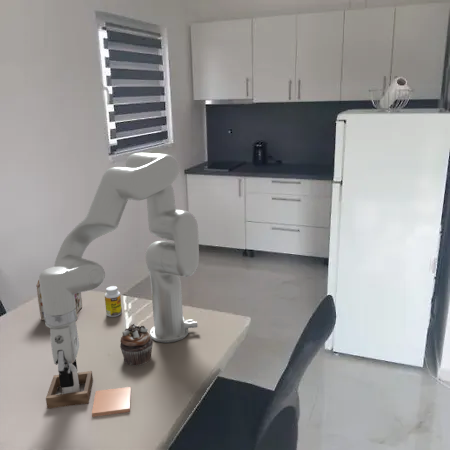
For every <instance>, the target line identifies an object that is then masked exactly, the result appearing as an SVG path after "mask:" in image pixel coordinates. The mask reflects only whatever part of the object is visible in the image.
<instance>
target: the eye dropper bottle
mask: <svg viewBox="0 0 450 450" xmlns="http://www.w3.org/2000/svg"><path fill="white" fill-rule="evenodd" d="M64 361H67V360H66V359H64ZM70 365H71V371H72V373H73V381H74V386H72V387H65V388H61V394H66V393H74V392H81V390H80V389H81V388H80V384H79V380H78V373H79V372H78V368H77V369H76V367H75V366H74V365H73V364H72V363H70ZM64 366H65V367H67V364H64ZM67 368H68V367H67Z"/></svg>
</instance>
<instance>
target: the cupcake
mask: <svg viewBox="0 0 450 450" xmlns="http://www.w3.org/2000/svg"><path fill="white" fill-rule="evenodd" d="M148 331H149V328H148V327H145V325H141V326H138V325H137V324H135V323H133V324H131V325H129V327H128V328H125V329H124V330H122V335H121V337H120V346H119V347H120V350H121V351H120V352H121V353H122V357H123V360H124V362H125V364H127V365H129V366H142V365H145V364H147V363H148V362H149V361H150V360H151V359H152V353H153V352H152V350H153V345H154V340H153V339H152V338H151V337H150V332H148Z"/></svg>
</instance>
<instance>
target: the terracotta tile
mask: <svg viewBox="0 0 450 450" xmlns="http://www.w3.org/2000/svg"><path fill="white" fill-rule="evenodd" d="M131 398H132V386H125V387H118V388H117V387H116V388H109V389H100V390H95V393H94V399H93V403H92V404H93V405H92V409H91V417H92V418H94V417H103V416H110V415H116V414H124V413H130V412H131Z"/></svg>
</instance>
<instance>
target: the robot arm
mask: <svg viewBox="0 0 450 450" xmlns="http://www.w3.org/2000/svg"><path fill="white" fill-rule="evenodd" d="M179 173H180V164H179V162H178V160H177V158H176V157H174V156H173V155H171V154H167V153H151V152H136V153H135V152H134V153H132V154H130V155H128V156H127V158H126V161H125V166H124V167H122V166H115V167H109V168H108V169H106V170H105V171H104V173H103V174H102V176H101V179H100V182H99V184H98V187H97V189H96V192H95V194H94V196H93V199H92V202H91V205H90V206H89V209H88V212H87V214H86V215H85V217H84V218H83V219H82V220H81V221H80V222H79V223H78V224H77V225H76V226H75V227H74V228H72V230H70V232H69V233H68V234H67V236H66V237H65V238H64V240H63V241H62V243H61V245H60V248H59V251H58V252H57V255H56V258H55V261H54V265H53V266H51V267H48V268H45V269H43V270H42V271H41V272H39V275H38V280H39V283H40V290H41V297H42V303H43V310H44V317H45V320H44V324H45V326H46V327H47V328H49V332H50V333H49V334H50V336H49V337H50V344H51V355H52V359H53V360H52V361H53V364H54V365H56V366H57V372H58V375H59V380H60V387H59V388H61V389H62V388H65V387H72V386H74V381H73V373H72V371H71V365H70V363H72V364H73V365H74V366H75V367H76V369H77V370H78V365H77V355H78V352H79V349H80V339H79V333H78V329H77V323H76V322H77V320H78V316H77V315H78V313H77V314H76V305H75V297H74V294H75V293H80V292H81V293H83V292H84V293H85V292H88V291H93V290H95V289H97V288H98V287H100V286H102V284H103V282H104V280H105V276H106V273H105V269H104V267H103V266H102V265H101V264H100V263H99V262H97V261H93V260H90V259H86V258H83V256H84V253H85V251H86V250H87V248H88V246H89V245H91V243H92V242H94V241H95V240H96V239H98V238H100V237H102V236H104V235H105V236H106V234H110V233H111V232H114V231H115V230H117V229H118V228H119V224H120V222H121V219H122V216H123V213H124V212H125V209H126V206H127V203H128V201H138V202H139V201H143V200H146V210H147V224H148V230H149V233H150V234H151V236H154V237H155V238H159V239H163V240H156V241H154V242H152V243H150V244H149V246H147V248H146V251H145V262H146V265H147V266H146V267H147V269H148V272H149V277H150V289H151V290H150V291H151V304H152V314H153V327H151V329H150V330H149V335H150V337H151V339H152V340H153V341H155V342H158V343H163V344H164V343H167V344H169V343H174V342H179V341H181V340H183V339H184V338H186V337H187V335H189V329H191V328H192V329H195V328H198V321H194V319H193V318H191V319H190V318H189V319H185V318H184V315H183V313H184V311H183V295H182V281H181V278H180V277H191V276H192V275H194V274H195V273H196V271H197V269H198V266H199V263H200V250H199V249H200V248H199V247H200V246H199V245H200V244H199V240H200V239H199V226H198V221H197V219H196V217H195V216H194V214H193V213H192V212H190V211H188V210H185V209H184V210H183V209H179V208H177V206H176V200H175V190H174V187H173V183H175V181H176V180H177V178H178V177H179ZM164 239H165V240H164ZM168 240H169V241H168ZM171 241H172V242H171ZM64 359H66V360H67V361H64ZM64 364H67V367H68V368H67V367H65V366H64Z"/></svg>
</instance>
